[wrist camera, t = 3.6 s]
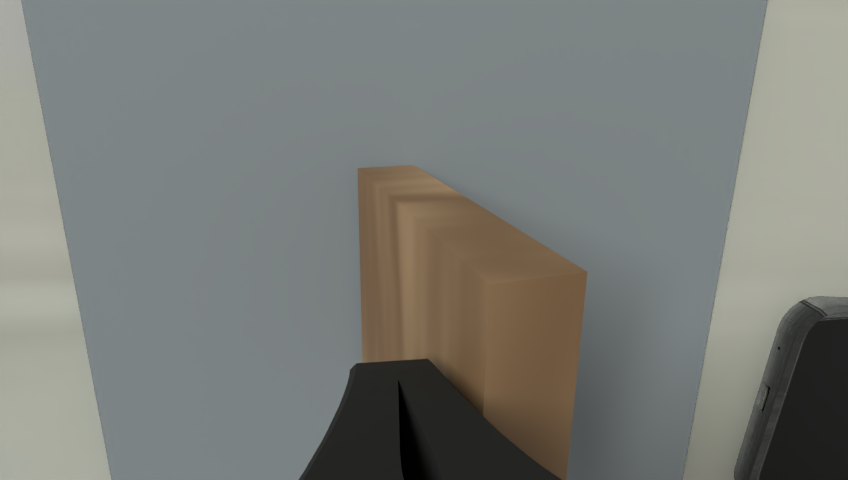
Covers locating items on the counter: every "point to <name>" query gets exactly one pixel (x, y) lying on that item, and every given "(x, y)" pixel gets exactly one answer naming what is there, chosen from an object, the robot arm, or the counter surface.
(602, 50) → the rubber mat
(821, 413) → the phone
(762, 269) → the counter surface
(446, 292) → the walnut tile
